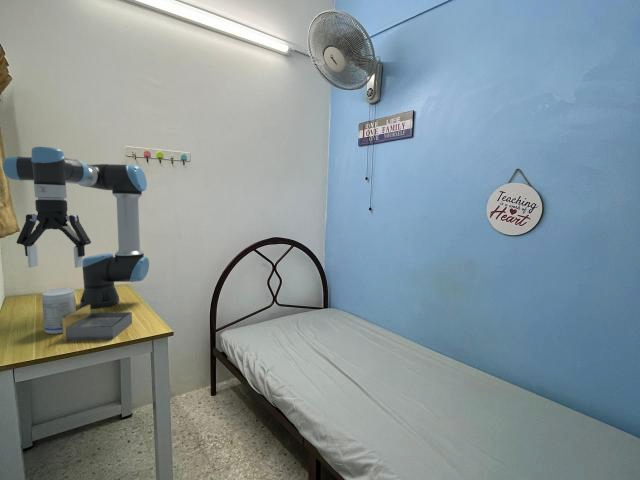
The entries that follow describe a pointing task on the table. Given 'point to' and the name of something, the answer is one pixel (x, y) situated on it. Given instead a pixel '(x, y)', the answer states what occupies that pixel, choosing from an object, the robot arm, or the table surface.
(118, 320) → the gray square tray
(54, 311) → the supplement tub
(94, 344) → the table surface
